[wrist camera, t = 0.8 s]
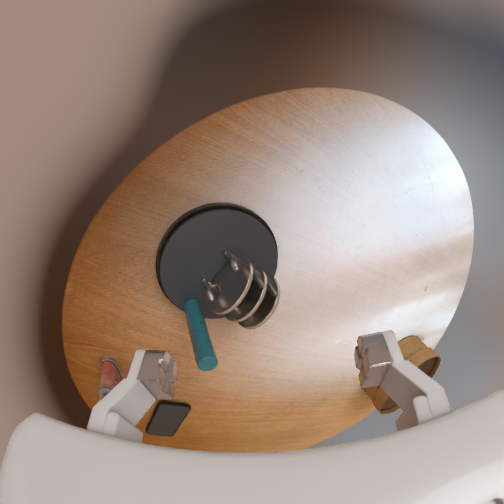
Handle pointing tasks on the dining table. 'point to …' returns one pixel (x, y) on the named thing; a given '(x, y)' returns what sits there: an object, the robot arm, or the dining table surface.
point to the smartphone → (167, 418)
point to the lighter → (109, 376)
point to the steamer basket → (416, 355)
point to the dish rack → (220, 274)
